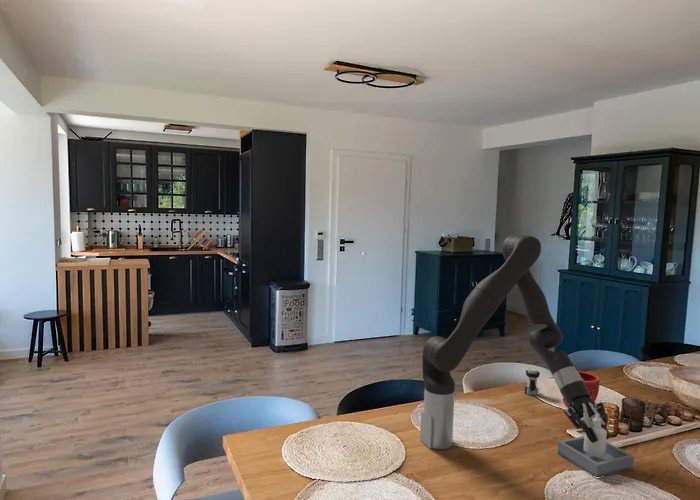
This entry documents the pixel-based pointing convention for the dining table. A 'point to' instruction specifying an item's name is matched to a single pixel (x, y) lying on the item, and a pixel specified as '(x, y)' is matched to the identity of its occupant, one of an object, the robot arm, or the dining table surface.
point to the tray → (595, 458)
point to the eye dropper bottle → (600, 445)
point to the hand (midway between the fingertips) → (601, 440)
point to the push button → (532, 381)
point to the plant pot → (589, 385)
